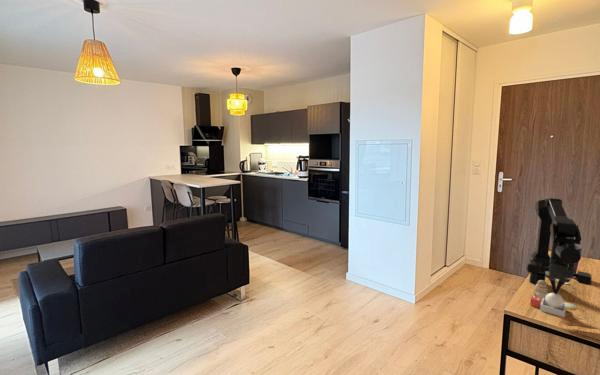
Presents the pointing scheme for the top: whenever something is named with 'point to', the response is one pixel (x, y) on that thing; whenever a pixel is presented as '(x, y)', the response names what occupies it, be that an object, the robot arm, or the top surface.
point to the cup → (577, 262)
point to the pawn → (541, 289)
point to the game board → (554, 310)
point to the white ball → (554, 300)
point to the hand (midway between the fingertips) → (555, 293)
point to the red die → (535, 301)
